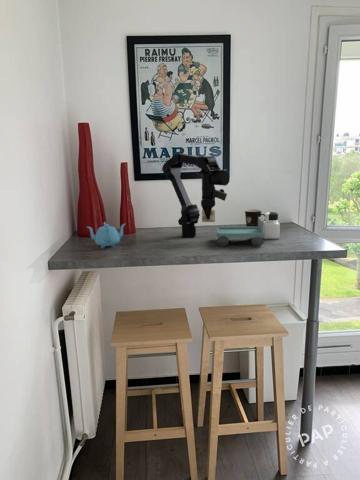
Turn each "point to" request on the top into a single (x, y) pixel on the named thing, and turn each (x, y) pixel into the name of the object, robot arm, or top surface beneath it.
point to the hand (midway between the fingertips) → (208, 218)
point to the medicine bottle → (271, 226)
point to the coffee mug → (252, 217)
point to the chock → (212, 216)
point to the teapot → (107, 235)
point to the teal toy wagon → (241, 234)
